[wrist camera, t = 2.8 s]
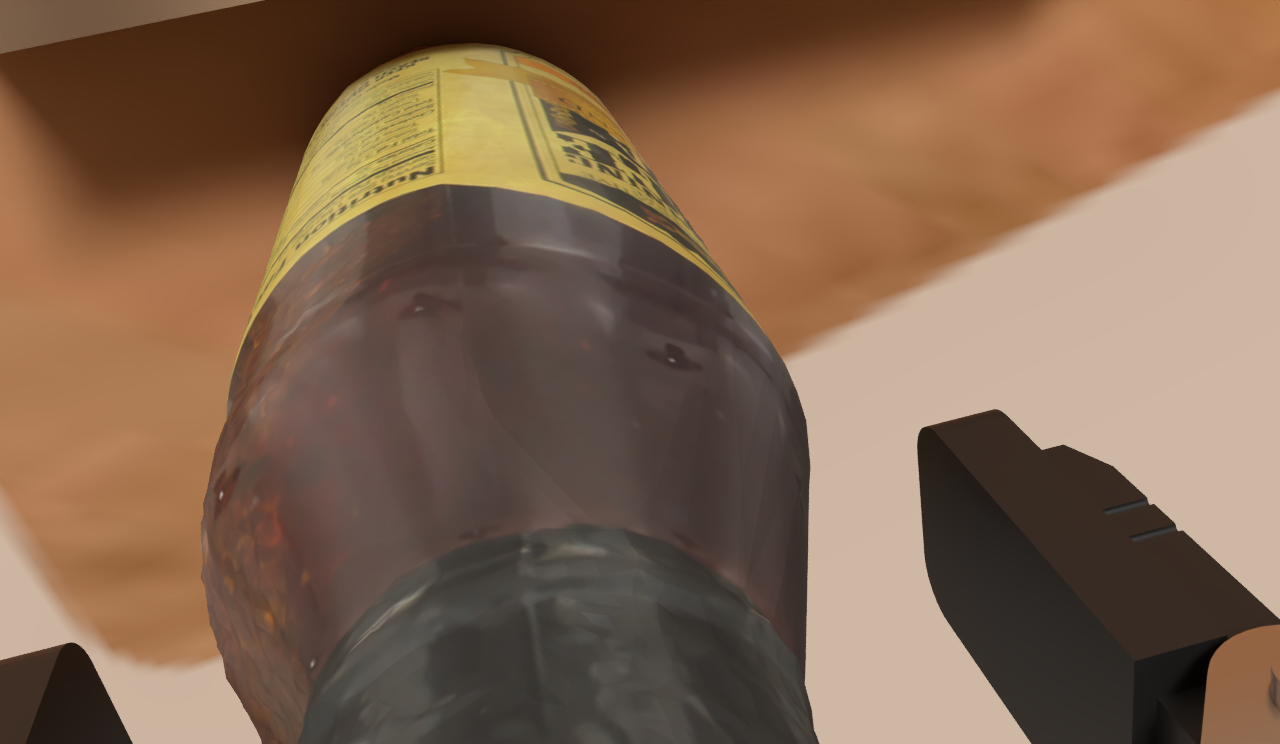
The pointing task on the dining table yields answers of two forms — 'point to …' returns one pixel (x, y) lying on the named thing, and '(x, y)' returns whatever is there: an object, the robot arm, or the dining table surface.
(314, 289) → the sauce bottle
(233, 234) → the dining table surface
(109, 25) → the walnut rail
